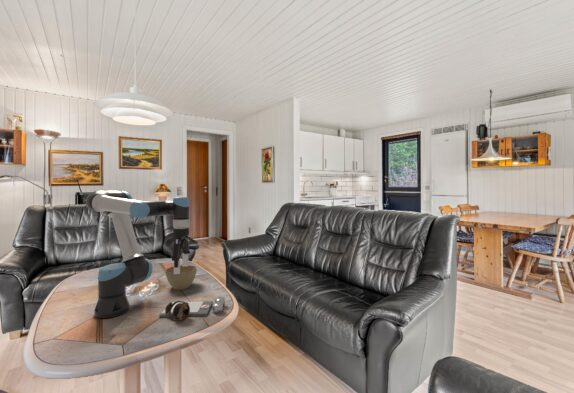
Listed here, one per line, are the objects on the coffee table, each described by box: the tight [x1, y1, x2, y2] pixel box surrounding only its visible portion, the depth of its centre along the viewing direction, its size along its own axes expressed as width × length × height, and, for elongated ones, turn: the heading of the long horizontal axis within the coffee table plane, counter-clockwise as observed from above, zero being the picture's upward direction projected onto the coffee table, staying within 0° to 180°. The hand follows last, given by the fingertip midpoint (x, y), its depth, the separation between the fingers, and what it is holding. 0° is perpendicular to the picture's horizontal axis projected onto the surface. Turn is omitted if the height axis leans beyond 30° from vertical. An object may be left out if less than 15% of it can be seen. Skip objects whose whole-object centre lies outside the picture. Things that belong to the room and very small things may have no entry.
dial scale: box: [158, 300, 214, 318], centre depth 139 cm, size 22×15×2 cm
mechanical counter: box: [164, 300, 190, 321], centre depth 131 cm, size 7×13×10 cm
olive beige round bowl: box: [165, 264, 198, 291], centre depth 171 cm, size 18×18×12 cm
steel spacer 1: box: [214, 296, 226, 308], centre depth 144 cm, size 5×5×4 cm
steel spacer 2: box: [212, 301, 224, 315], centre depth 137 cm, size 5×5×4 cm
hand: (181, 269), depth 139 cm, fingers open, 13 cm apart
